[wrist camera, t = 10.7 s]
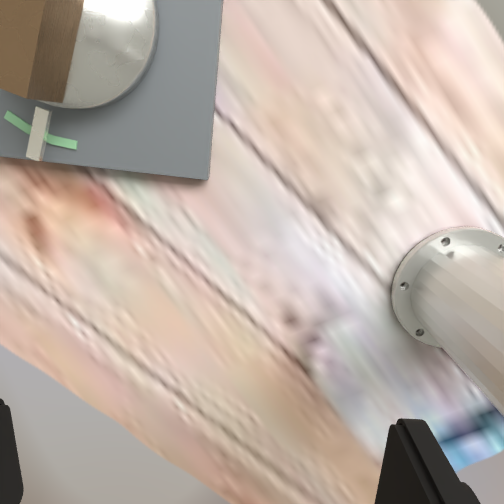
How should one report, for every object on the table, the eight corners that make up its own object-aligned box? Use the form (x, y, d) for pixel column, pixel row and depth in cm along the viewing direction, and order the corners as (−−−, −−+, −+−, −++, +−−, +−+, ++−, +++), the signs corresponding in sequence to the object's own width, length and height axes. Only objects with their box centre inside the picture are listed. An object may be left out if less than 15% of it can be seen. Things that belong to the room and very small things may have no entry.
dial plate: (233, -129, 28) (232, -145, 26) (209, 177, 34) (207, 180, 33) (-84, -179, 27) (-106, -199, 25) (-45, 148, 33) (-60, 150, 32)
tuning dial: (-2, -125, 26) (-86, -210, 19) (181, -42, 28) (161, -95, 21) (-39, 128, 31) (-116, 128, 24) (118, 185, 33) (86, 200, 26)
